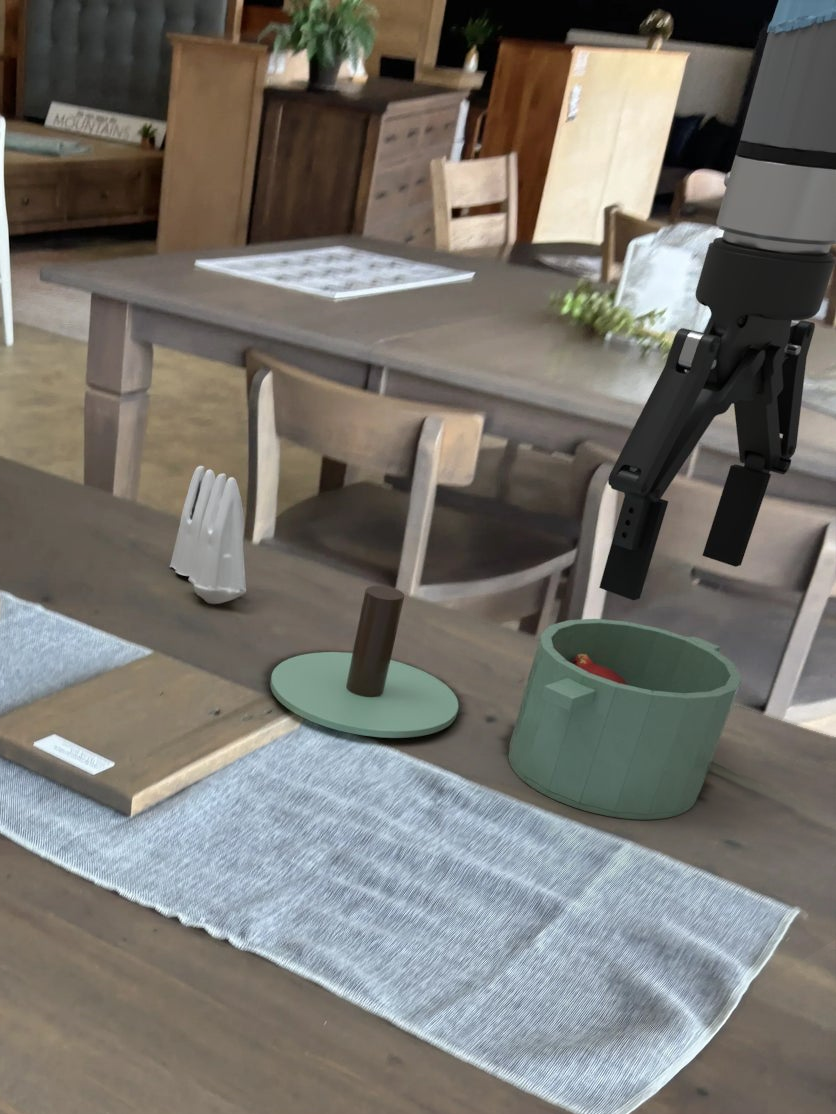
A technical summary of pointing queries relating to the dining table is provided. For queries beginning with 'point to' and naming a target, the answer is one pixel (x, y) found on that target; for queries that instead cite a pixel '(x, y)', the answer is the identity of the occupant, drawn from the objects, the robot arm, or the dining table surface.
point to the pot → (622, 718)
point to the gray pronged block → (212, 538)
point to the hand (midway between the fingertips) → (672, 576)
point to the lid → (367, 681)
